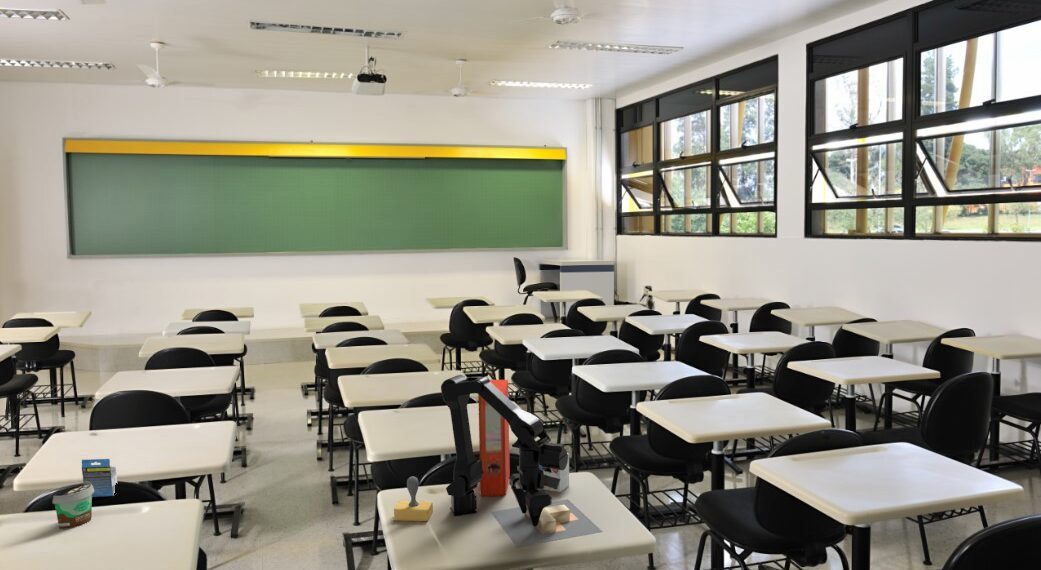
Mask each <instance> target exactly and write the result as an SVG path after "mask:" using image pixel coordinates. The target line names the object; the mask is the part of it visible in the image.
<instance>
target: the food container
mask: <svg viewBox="0 0 1041 570" xmlns="http://www.w3.org/2000/svg"><path fill="white" fill-rule="evenodd" d="M93 493H94V488H93V486H92V484H91V483H90V482H87V481H84V484H82V485H80V486H78V487H76V488H72V489H70V490H68V491H66V492H65V493H63V494H61V495H53V498H52V504H53V505H54V507H55V513H56V518H57V523H58V529H59V530H65V529H66V530H67V529H73V528H78V527H80V526H84V525H86V524H88V523H89V522H90V521H91V520H92V519H91V518H92V515H93V514H92V511H93V509H92V505H93V504H92V499H93V497H92V494H93ZM87 522H88V523H87ZM85 523H86V524H85ZM83 524H84V525H83ZM77 526H78V527H77Z"/></svg>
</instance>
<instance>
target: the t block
mask: <svg viewBox="0 0 1041 570" xmlns="http://www.w3.org/2000/svg"><path fill="white" fill-rule="evenodd" d="M525 514H526V515H527V516H528V518H529V519H530V516H529V513H528V510H527V512H526V513H525ZM530 520H531V519H530ZM569 520H570V510H569V509H568V508H567V507H566V506H565V505H558V506H552V507H546V508H543V510H542V512H541V515H540V519H539V522H538V525H537V526H536V527H537V528H538V529H539V530H540V531H541V533H548V532H554V531H556V523H557V522H563V521H569Z"/></svg>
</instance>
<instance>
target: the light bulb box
mask: <svg viewBox="0 0 1041 570" xmlns="http://www.w3.org/2000/svg"><path fill="white" fill-rule="evenodd" d="M567 454H568V462H567V465H566V468H565V469H564V470H556V469H551V471H552V472H553V473H554V474H556V475H558V476H559V477H560V478H561V480H560V483H559V486H558V489H557V490H556V489H553V488H551V487H547V486H544V488H542V489H540V488H538V491H540V490H545V491H551V492H557V493H561V492H562V491H564V490H565V489H566V488H569V487H570V454H569V453H568V452H567ZM540 468H541V469H542V468H543V467H542V466H541V465H540Z"/></svg>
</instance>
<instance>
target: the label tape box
mask: <svg viewBox="0 0 1041 570" xmlns="http://www.w3.org/2000/svg"><path fill="white" fill-rule="evenodd" d="M94 463H97V464H94ZM81 472H82V482H83V484H82V485H84V481H87V482H90V483H91V484H92V486H93V488H94V493H93V494H92V498H98V497H114V496H115V495H114V493H115V485H116V483H117V484H118V475H117V468H116V466H111V459H110V458H94V459H93V458H91V459H81Z"/></svg>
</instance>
